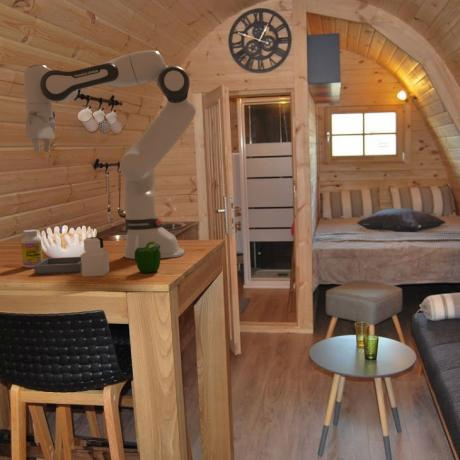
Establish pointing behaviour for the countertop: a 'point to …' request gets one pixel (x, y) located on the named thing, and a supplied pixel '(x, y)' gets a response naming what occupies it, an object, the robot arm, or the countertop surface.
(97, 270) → the medicine bottle
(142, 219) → the robot arm
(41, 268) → the tray
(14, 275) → the countertop surface
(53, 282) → the countertop surface
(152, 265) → the bell pepper
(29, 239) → the supplement bottle
